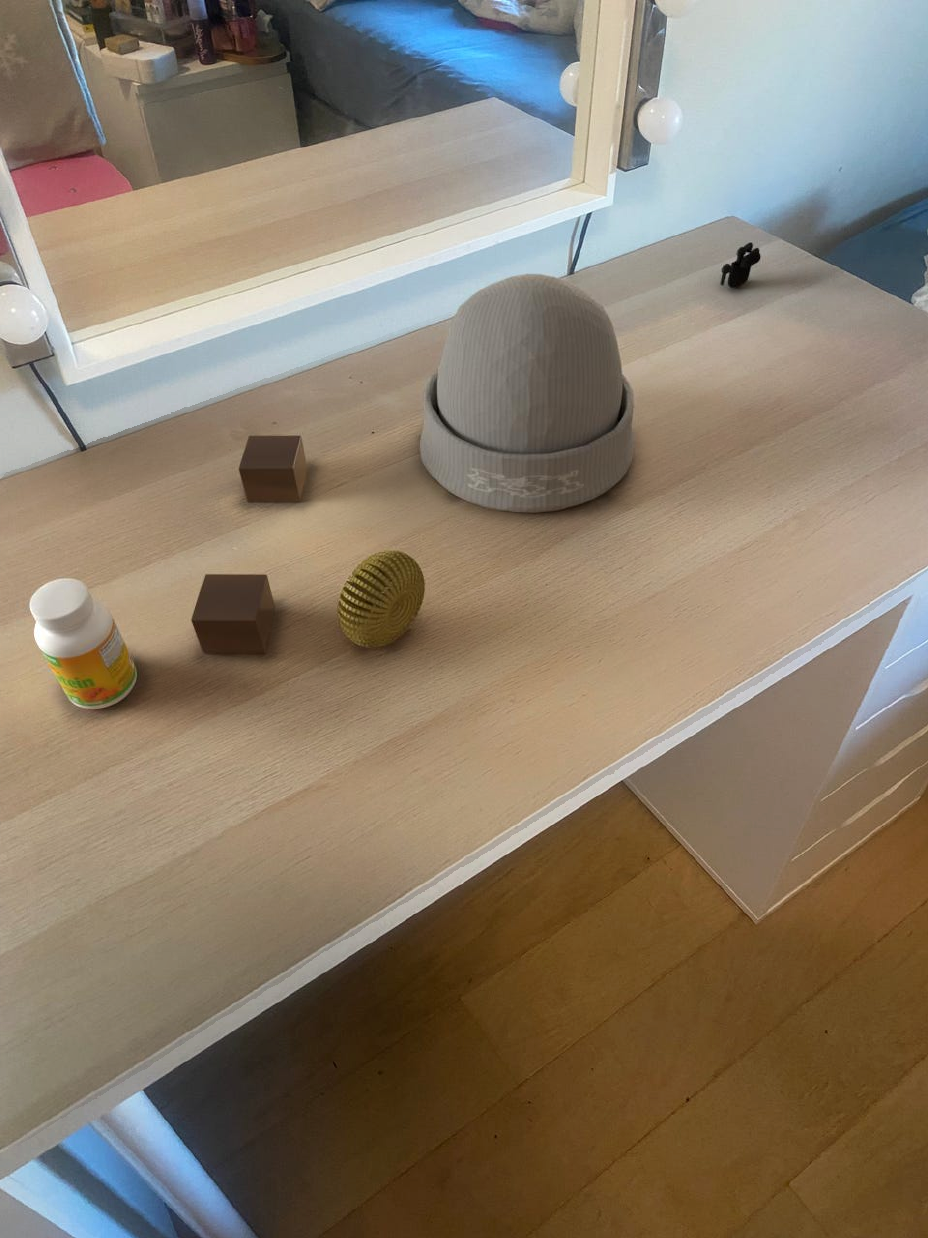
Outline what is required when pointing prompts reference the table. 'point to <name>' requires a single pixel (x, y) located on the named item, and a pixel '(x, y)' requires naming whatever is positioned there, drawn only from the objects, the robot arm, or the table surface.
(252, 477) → the block far
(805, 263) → the table surface
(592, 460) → the beanie hat
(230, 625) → the block near
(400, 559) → the sculpture
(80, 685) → the supplement bottle
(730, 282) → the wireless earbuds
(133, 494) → the table surface
